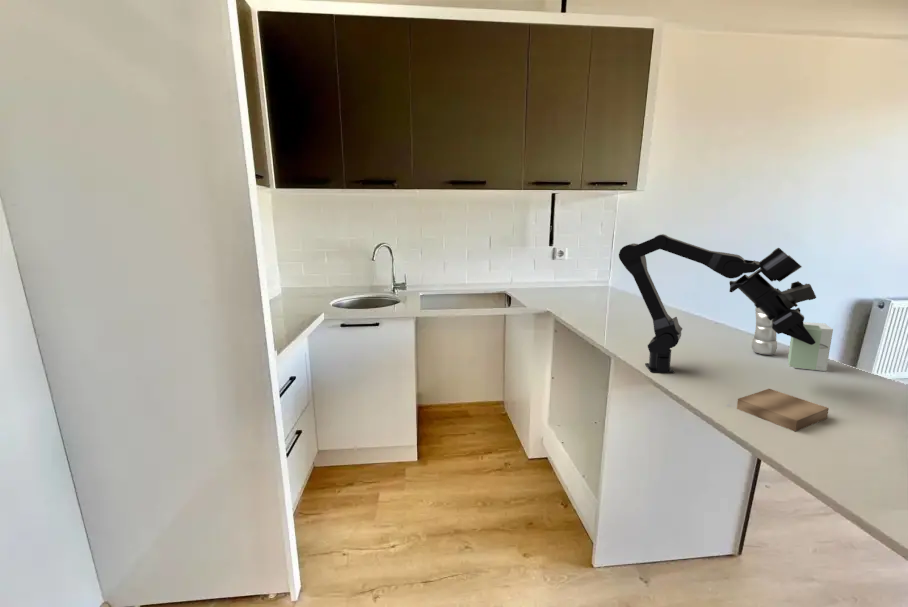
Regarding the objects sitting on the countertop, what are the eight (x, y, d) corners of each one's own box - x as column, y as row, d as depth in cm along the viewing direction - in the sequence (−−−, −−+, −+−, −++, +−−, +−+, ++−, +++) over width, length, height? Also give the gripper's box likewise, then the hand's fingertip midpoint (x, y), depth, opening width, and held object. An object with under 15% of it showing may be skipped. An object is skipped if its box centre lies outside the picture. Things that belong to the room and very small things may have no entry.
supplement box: (794, 368, 119) (799, 326, 116) (788, 360, 125) (793, 320, 123) (827, 372, 115) (833, 328, 113) (819, 363, 122) (825, 322, 119)
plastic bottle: (765, 358, 128) (773, 295, 124) (745, 351, 134) (751, 291, 130) (781, 355, 130) (789, 293, 125) (760, 349, 136) (767, 290, 132)
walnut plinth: (736, 408, 97) (737, 398, 96) (767, 398, 101) (769, 388, 101) (795, 431, 86) (796, 420, 85) (827, 418, 91) (828, 407, 90)
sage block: (789, 366, 103) (794, 328, 101) (787, 360, 107) (792, 323, 105) (815, 370, 100) (821, 330, 98) (812, 363, 104) (818, 325, 102)
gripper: (797, 278, 93) (855, 330, 89) (790, 268, 108) (840, 312, 104) (750, 308, 99) (803, 359, 95) (750, 295, 114) (795, 338, 110)
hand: (812, 340), depth 101 cm, fingers closed on sage block, 5 cm apart
